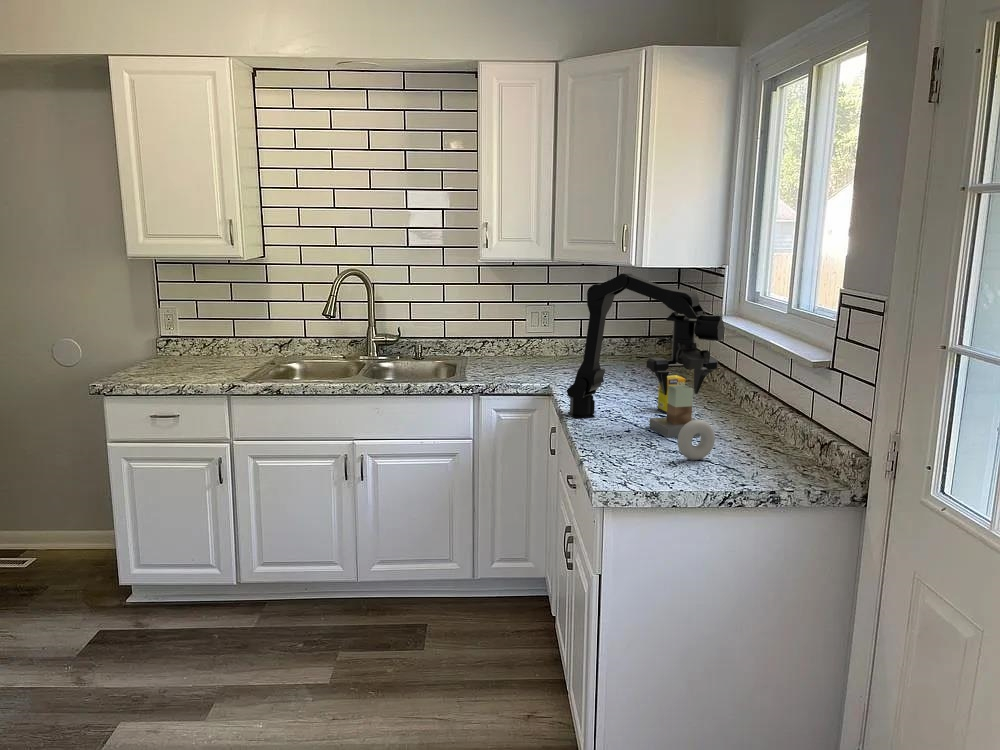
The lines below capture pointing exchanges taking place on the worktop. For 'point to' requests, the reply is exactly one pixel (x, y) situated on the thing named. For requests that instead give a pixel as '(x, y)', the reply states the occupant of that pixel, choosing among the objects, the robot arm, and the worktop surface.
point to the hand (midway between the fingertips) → (680, 394)
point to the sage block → (680, 395)
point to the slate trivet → (667, 427)
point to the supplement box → (664, 398)
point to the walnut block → (679, 414)
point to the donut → (705, 442)
